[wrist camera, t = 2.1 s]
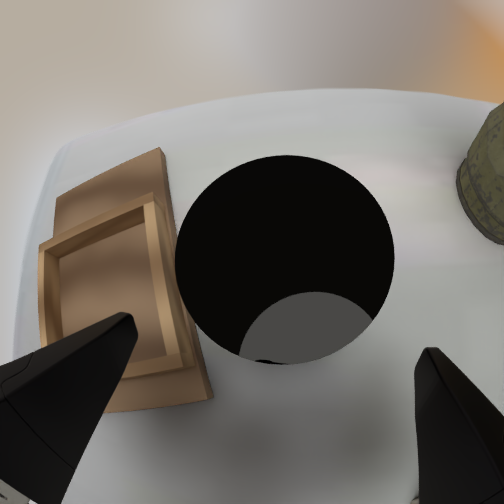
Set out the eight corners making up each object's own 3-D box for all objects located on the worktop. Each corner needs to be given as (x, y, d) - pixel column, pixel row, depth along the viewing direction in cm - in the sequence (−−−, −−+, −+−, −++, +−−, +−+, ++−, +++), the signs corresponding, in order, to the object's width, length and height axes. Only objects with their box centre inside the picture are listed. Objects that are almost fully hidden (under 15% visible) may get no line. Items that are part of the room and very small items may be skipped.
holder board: (213, 396, 17) (196, 404, 14) (78, 413, 17) (51, 416, 14) (164, 155, 24) (150, 132, 21) (63, 203, 25) (44, 188, 22)
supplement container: (313, 378, 16) (330, 408, 7) (220, 326, 18) (136, 289, 9) (362, 283, 18) (421, 204, 8) (272, 239, 20) (244, 132, 10)
